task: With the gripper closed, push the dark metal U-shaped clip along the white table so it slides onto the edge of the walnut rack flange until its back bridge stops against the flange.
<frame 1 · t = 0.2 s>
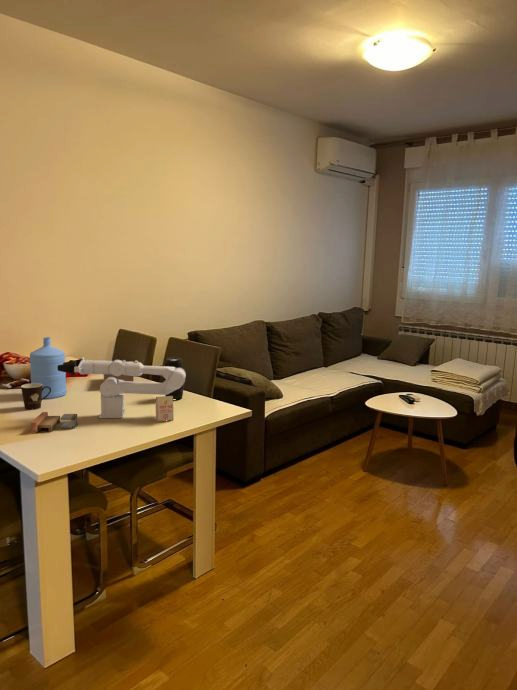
hand: (60, 366, 204), 21 cm above the table, tool horizontal, fingers open, 7 cm apart
portable speaker: (174, 399, 238), on the table
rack: (46, 427, 193), on the table
tissue box cover: (119, 384, 266), on the table
clip: (69, 426, 194), on the table
water jug: (49, 395, 240), on the table
coffee mug: (36, 408, 219), on the table
tea bag: (164, 420, 205), on the table
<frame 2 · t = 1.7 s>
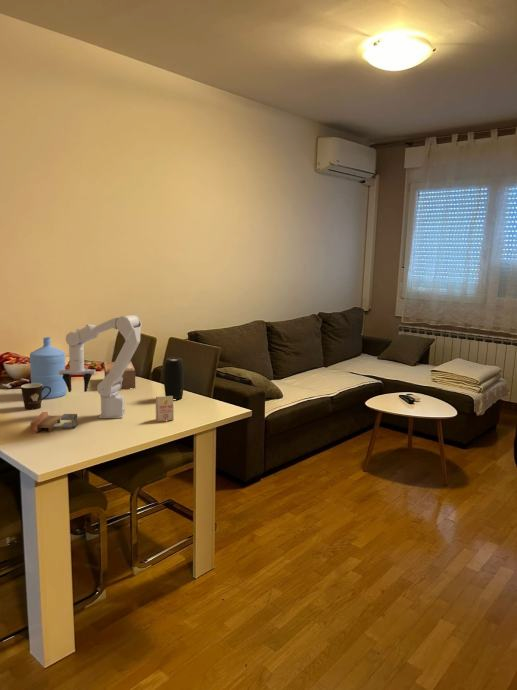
hand: (77, 391, 211), 9 cm above the table, tool pointing down, fingers open, 6 cm apart
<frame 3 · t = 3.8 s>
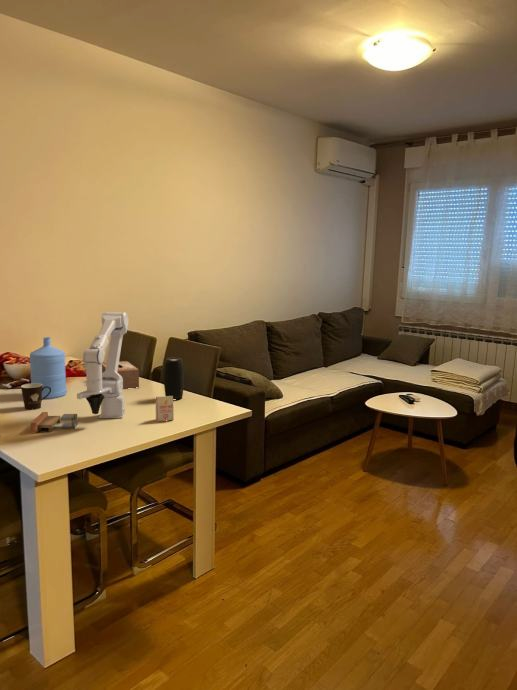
hand: (95, 413, 194), 5 cm above the table, tool pointing down, fingers closed
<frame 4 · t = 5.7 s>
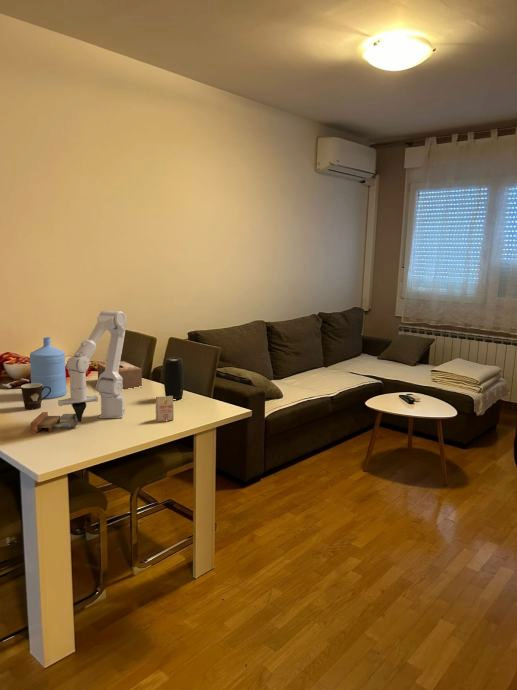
hand: (79, 421, 194), 2 cm above the table, tool pointing down, fingers closed
clip: (69, 426, 194), on the table, touching gripper
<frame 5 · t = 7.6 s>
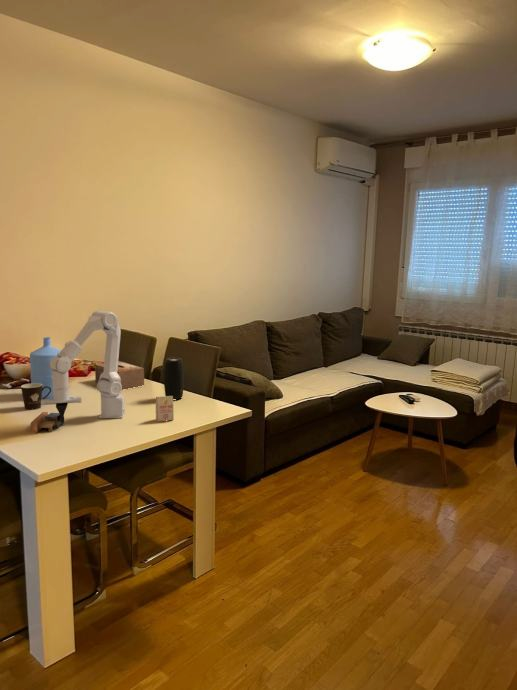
hand: (62, 421, 193), 2 cm above the table, tool pointing down, fingers closed, pressing on clip
clip: (54, 425, 195), on the table, touching gripper, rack
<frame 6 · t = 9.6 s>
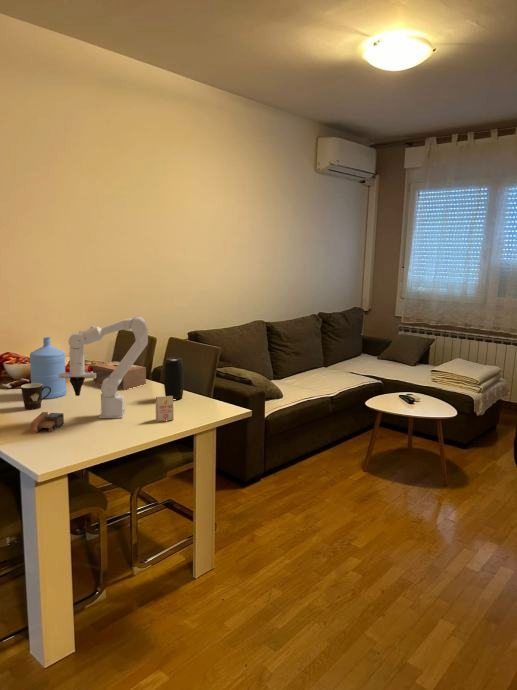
hand: (77, 395, 204), 9 cm above the table, tool pointing down, fingers closed
clip: (54, 426, 195), on the table
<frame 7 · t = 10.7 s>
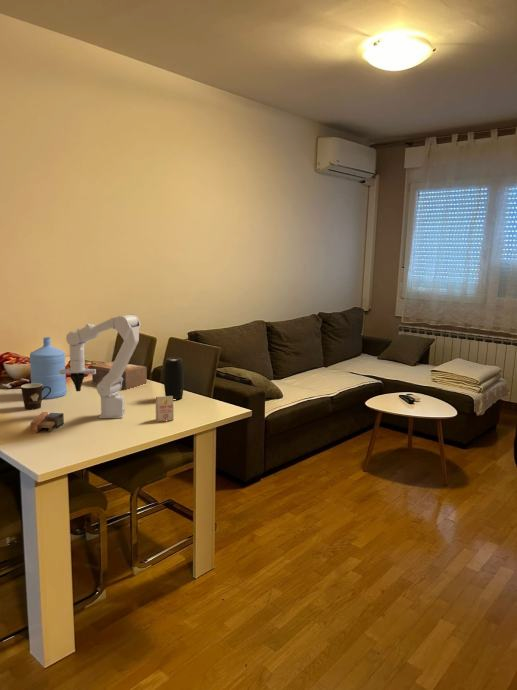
hand: (78, 390, 212), 9 cm above the table, tool pointing down, fingers closed
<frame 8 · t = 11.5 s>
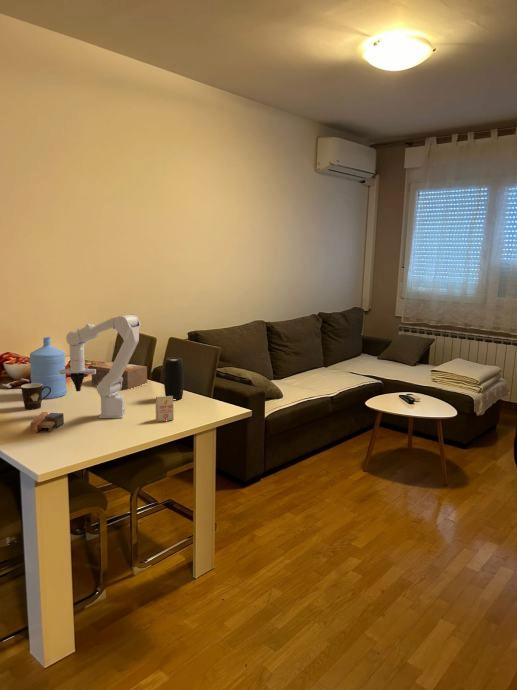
hand: (78, 390, 212), 9 cm above the table, tool pointing down, fingers closed
at the end: clip 1.4 cm from the target spot on the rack, point 0.0 cm above the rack's base; clip tilted 0°; the gripper is holding nothing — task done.
